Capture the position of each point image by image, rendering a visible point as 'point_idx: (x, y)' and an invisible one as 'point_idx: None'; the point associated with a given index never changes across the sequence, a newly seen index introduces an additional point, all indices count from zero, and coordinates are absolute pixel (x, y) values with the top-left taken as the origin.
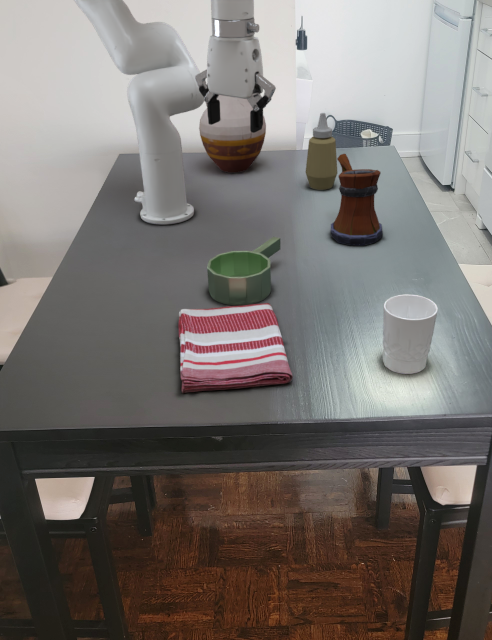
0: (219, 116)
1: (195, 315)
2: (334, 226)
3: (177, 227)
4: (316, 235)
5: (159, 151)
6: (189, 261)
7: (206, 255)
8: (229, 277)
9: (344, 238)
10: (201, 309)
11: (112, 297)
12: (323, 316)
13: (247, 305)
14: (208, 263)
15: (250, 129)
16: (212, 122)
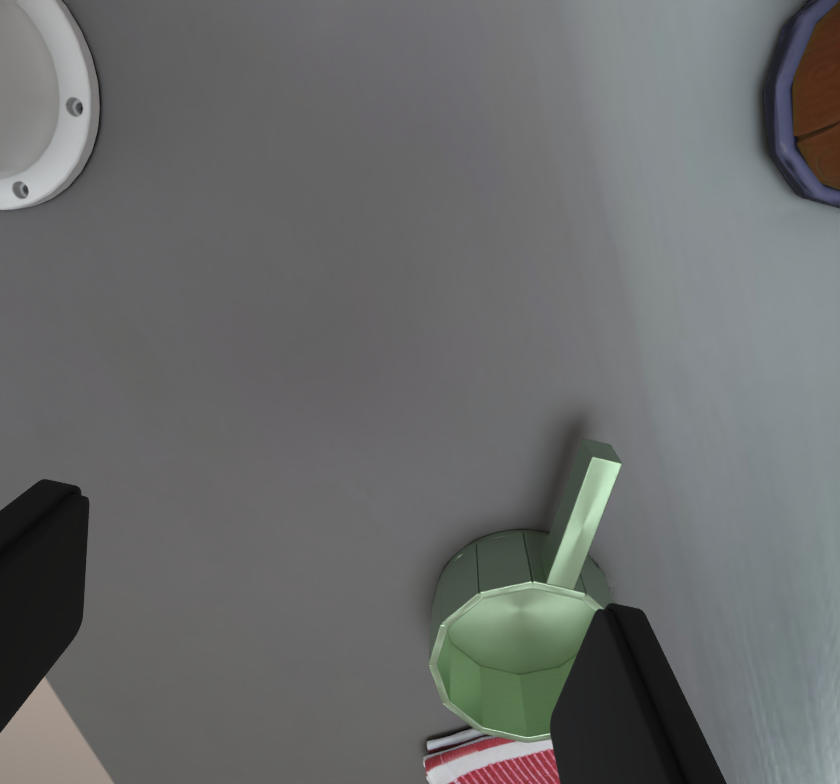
0: (56, 533)
1: (466, 770)
2: (803, 141)
3: (104, 207)
4: (693, 132)
5: None
6: (297, 470)
7: (330, 417)
8: (529, 742)
9: (837, 206)
10: (470, 751)
11: (211, 691)
12: (771, 673)
13: None
14: (435, 681)
15: (552, 742)
16: (71, 627)
